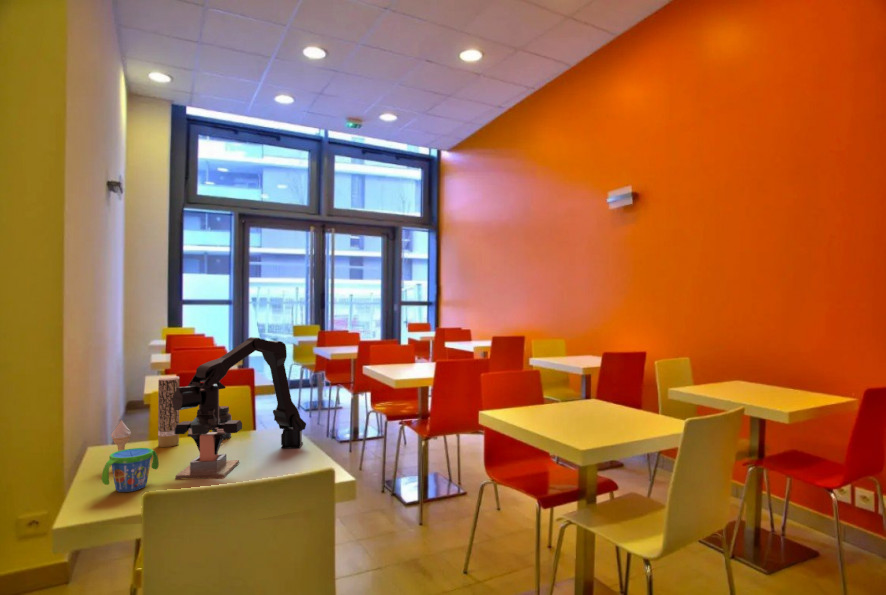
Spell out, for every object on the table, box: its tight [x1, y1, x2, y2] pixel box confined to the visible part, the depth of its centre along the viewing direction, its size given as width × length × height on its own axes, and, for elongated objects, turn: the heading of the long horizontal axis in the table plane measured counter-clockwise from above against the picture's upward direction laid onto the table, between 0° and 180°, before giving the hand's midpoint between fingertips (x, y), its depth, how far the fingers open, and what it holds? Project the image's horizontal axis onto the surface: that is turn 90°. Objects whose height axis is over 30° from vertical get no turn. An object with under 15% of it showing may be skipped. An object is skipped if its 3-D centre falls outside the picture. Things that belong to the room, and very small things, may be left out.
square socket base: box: [175, 453, 240, 480], centre depth 159 cm, size 14×14×4 cm
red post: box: [199, 431, 219, 461], centre depth 159 cm, size 4×4×9 cm
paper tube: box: [157, 375, 180, 448], centre depth 188 cm, size 7×7×25 cm
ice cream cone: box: [110, 419, 132, 451], centre depth 164 cm, size 6×6×15 cm
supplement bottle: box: [211, 405, 233, 441], centre depth 198 cm, size 7×7×12 cm
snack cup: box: [101, 447, 160, 493], centre depth 144 cm, size 16×10×10 cm
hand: (208, 454), depth 159 cm, fingers closed on red post, 4 cm apart
